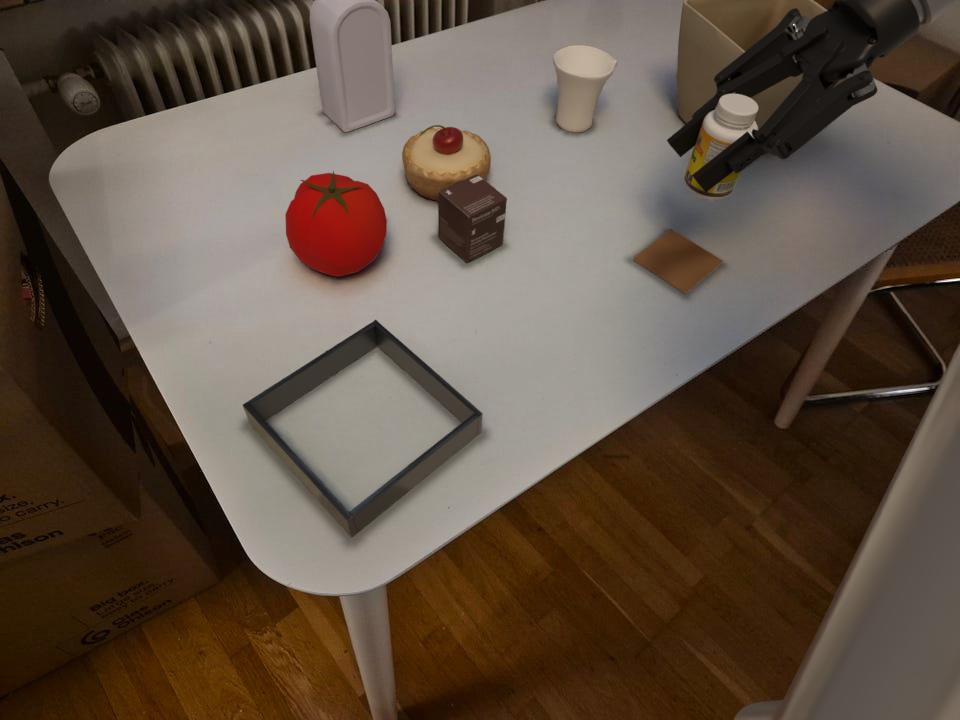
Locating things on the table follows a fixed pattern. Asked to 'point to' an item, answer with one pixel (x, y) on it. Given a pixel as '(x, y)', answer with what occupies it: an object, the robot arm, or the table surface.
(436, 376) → the dark grey square frame
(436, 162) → the pastry
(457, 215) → the box
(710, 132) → the supplement bottle
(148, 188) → the table surface
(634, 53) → the table surface
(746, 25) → the flower pot
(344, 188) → the tomato
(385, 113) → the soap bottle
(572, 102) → the cup
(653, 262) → the coaster
